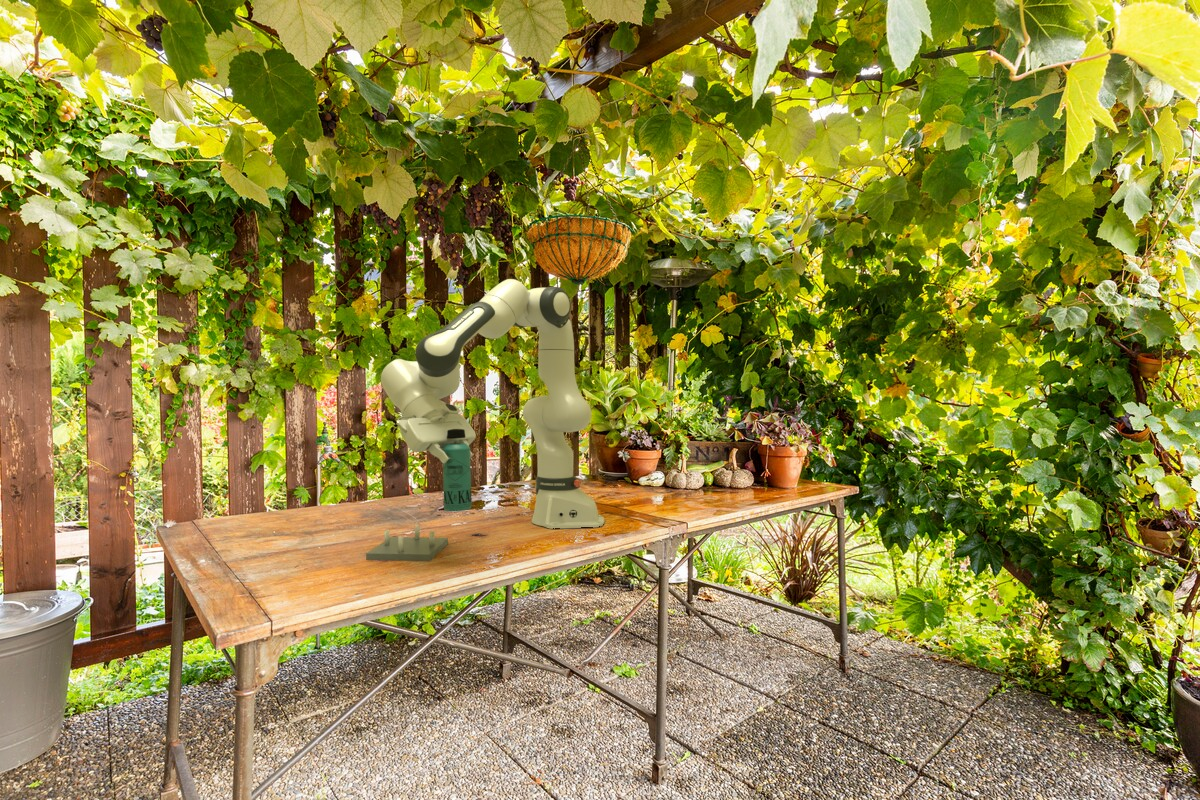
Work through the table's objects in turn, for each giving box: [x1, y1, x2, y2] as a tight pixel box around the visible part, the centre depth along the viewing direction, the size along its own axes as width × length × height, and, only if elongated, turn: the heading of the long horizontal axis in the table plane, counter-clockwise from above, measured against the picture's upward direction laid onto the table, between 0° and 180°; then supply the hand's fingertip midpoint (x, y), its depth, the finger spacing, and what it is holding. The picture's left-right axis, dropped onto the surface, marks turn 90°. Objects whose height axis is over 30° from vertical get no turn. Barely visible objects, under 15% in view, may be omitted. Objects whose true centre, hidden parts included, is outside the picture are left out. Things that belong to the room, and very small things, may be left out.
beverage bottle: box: [442, 429, 473, 512], centre depth 128 cm, size 6×7×20 cm
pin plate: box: [365, 524, 449, 562], centre depth 137 cm, size 15×15×5 cm
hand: (458, 459), depth 128 cm, fingers closed on beverage bottle, 6 cm apart
